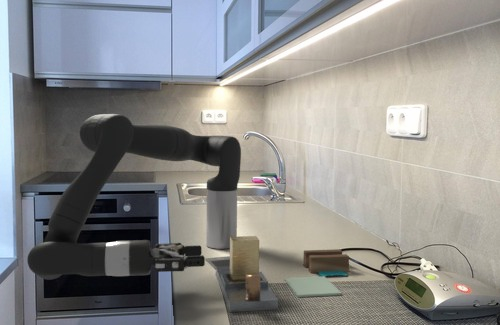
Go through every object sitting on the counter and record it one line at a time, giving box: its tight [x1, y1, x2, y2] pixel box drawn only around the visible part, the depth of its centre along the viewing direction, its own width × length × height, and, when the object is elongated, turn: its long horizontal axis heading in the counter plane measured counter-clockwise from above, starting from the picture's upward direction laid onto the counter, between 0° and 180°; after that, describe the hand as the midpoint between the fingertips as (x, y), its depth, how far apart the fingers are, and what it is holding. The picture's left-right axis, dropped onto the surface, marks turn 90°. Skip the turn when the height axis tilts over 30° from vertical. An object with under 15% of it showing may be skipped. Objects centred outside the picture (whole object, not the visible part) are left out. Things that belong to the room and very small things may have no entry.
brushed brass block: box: [229, 235, 260, 282], centre depth 118 cm, size 4×6×10 cm, turn 100°
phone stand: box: [302, 248, 350, 274], centre depth 136 cm, size 7×10×4 cm
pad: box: [284, 276, 342, 298], centre depth 121 cm, size 12×10×1 cm
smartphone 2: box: [316, 271, 349, 278], centre depth 136 cm, size 7×1×15 cm
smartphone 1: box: [204, 255, 230, 271], centre depth 138 cm, size 15×8×1 cm, turn 21°
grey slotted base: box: [215, 266, 279, 313], centre depth 118 cm, size 25×10×7 cm, turn 10°
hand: (202, 255), depth 116 cm, fingers open, 8 cm apart
